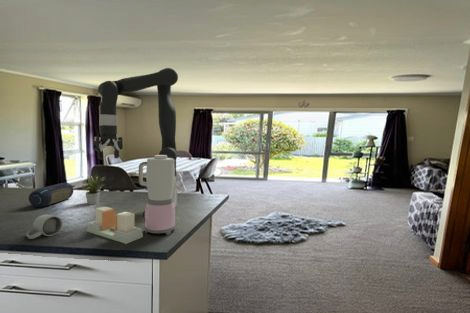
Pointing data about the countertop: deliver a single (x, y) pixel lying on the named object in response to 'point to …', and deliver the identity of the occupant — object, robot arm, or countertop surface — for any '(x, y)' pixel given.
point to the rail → (111, 235)
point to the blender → (159, 194)
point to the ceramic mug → (45, 226)
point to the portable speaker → (50, 194)
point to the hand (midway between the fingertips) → (108, 158)
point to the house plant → (92, 191)
